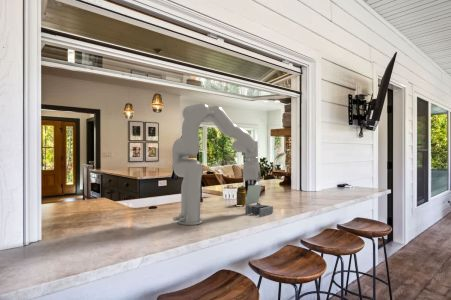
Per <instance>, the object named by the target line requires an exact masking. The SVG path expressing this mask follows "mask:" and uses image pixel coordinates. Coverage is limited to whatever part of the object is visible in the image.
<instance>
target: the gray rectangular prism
mask: <svg viewBox="0 0 451 300" xmlns="http://www.w3.org/2000/svg"><path fill="white" fill-rule="evenodd" d="M265 205H266V204H261V205H259V206H253V210H252V214H251V215H254V214H255V216H259V211H260V209H261V208H265V207H266V206H265Z"/></svg>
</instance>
